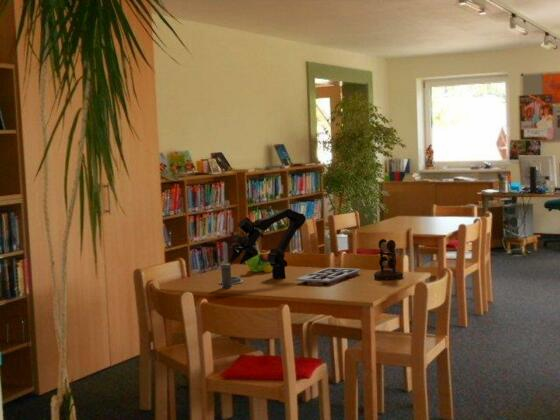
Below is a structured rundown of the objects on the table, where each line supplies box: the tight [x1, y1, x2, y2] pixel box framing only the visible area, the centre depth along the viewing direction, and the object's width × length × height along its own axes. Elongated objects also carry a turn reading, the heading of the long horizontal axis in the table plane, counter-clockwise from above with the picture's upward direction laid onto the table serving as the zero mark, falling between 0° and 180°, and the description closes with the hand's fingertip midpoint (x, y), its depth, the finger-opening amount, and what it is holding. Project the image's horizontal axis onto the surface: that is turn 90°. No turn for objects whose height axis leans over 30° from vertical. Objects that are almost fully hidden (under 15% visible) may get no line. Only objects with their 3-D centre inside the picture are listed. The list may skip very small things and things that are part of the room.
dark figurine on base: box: [373, 238, 404, 281], centre depth 404 cm, size 15×15×20 cm
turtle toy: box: [244, 249, 273, 274], centre depth 451 cm, size 17×23×12 cm
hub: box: [218, 276, 244, 285], centre depth 420 cm, size 13×13×2 cm
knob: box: [220, 263, 233, 289], centre depth 405 cm, size 5×5×12 cm
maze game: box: [294, 267, 361, 286], centre depth 412 cm, size 35×20×3 cm, turn 147°
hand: (235, 262), depth 408 cm, fingers open, 9 cm apart
